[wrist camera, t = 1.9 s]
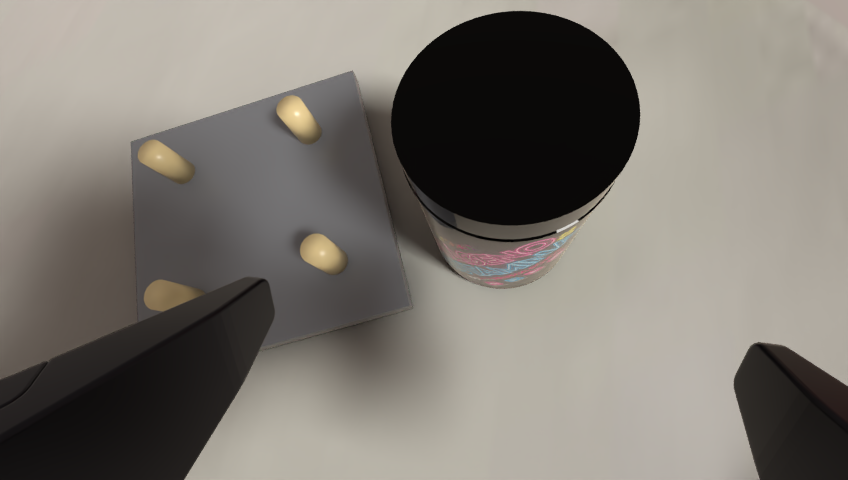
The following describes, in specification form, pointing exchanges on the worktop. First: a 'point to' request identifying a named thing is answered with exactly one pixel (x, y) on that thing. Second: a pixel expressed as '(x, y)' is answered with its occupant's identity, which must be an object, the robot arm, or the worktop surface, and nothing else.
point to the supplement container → (513, 139)
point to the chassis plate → (270, 212)
